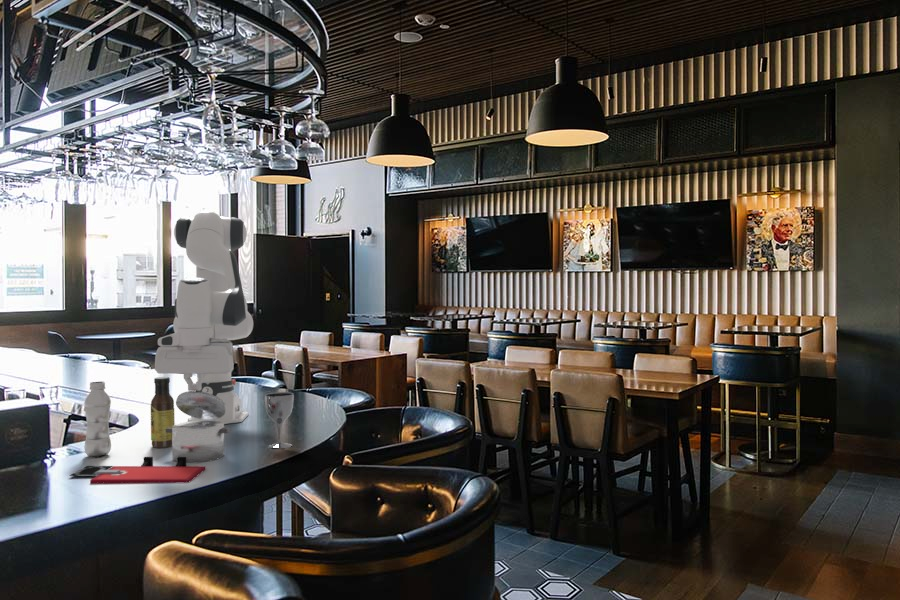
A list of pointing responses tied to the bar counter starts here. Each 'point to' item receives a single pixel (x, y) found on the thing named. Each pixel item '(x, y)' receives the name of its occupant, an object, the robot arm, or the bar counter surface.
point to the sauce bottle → (162, 414)
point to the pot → (198, 440)
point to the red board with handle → (141, 473)
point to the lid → (201, 405)
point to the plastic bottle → (97, 420)
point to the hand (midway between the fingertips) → (194, 390)
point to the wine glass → (279, 412)
